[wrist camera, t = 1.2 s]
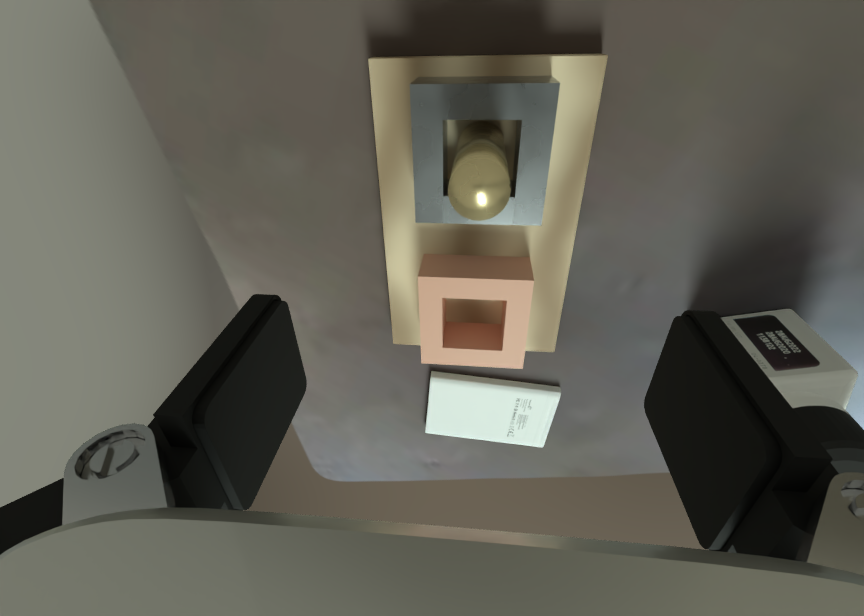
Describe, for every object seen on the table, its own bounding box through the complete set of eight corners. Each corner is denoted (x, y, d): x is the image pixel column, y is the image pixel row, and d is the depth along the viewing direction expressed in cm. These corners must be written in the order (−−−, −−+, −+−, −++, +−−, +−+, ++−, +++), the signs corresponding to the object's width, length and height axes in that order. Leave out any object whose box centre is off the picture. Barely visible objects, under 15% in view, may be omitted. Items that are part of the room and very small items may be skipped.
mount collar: (552, 75, 25) (560, 82, 23) (536, 205, 30) (541, 225, 27) (418, 76, 26) (409, 84, 23) (422, 203, 31) (415, 222, 28)
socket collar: (529, 257, 32) (534, 280, 29) (519, 341, 37) (522, 368, 34) (423, 253, 33) (417, 276, 30) (426, 336, 37) (421, 363, 34)
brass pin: (506, 120, 27) (513, 159, 20) (502, 168, 29) (508, 221, 21) (458, 121, 27) (447, 158, 20) (457, 168, 29) (447, 220, 22)
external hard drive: (432, 366, 42) (559, 382, 41) (426, 422, 47) (541, 437, 46) (430, 378, 41) (561, 394, 40) (424, 434, 45) (542, 450, 45)
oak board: (601, 53, 26) (607, 55, 25) (551, 341, 38) (554, 352, 37) (373, 56, 27) (368, 58, 26) (396, 333, 39) (393, 343, 38)
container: (684, 320, 35) (769, 450, 25) (791, 305, 34) (933, 439, 23) (679, 387, 40) (751, 524, 29) (775, 377, 38) (889, 520, 27)
